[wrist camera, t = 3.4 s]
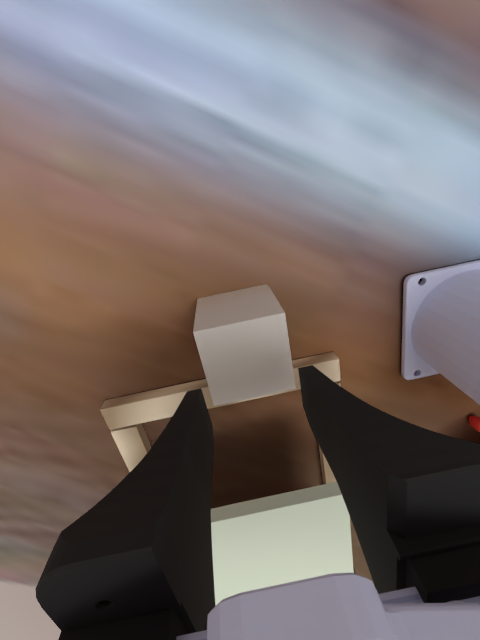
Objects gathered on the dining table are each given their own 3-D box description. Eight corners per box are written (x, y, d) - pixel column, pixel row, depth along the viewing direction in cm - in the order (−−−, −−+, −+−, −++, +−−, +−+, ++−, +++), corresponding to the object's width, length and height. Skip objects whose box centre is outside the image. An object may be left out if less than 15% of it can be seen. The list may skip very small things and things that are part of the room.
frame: (333, 351, 22) (387, 422, 15) (347, 530, 30) (386, 628, 23) (104, 400, 21) (57, 493, 15) (181, 566, 29) (172, 675, 23)
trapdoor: (337, 470, 18) (353, 505, 16) (348, 592, 23) (361, 630, 21) (137, 512, 18) (128, 553, 16) (194, 626, 23) (192, 667, 21)
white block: (267, 283, 19) (285, 312, 15) (277, 345, 21) (295, 388, 16) (197, 298, 19) (192, 332, 15) (213, 358, 21) (213, 405, 16)
